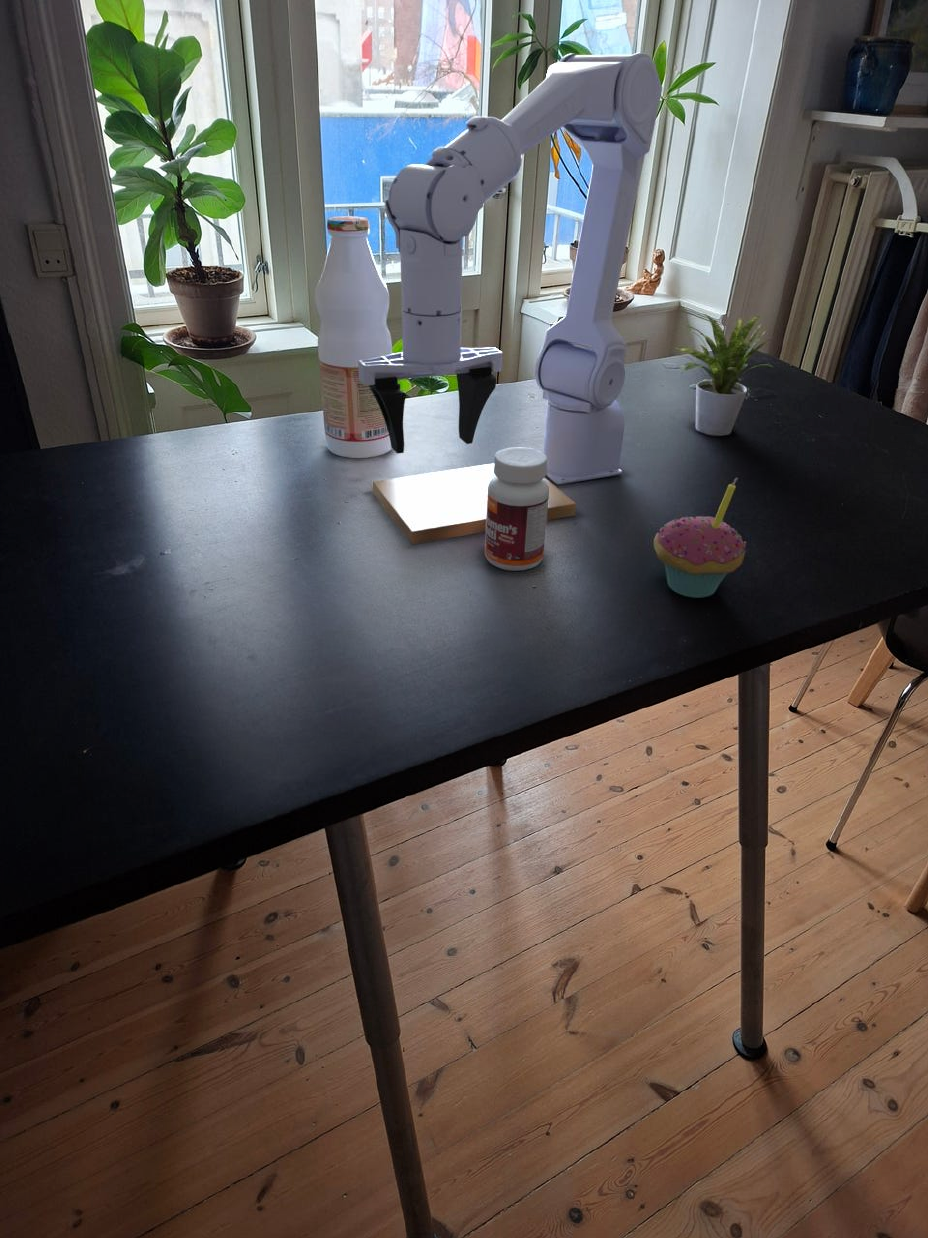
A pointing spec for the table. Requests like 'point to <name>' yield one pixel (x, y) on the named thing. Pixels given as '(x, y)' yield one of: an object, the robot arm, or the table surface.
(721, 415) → the house plant
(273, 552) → the table surface
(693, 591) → the cupcake
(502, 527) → the pill bottle
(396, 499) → the oak board
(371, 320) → the fruit juice
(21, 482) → the table surface
